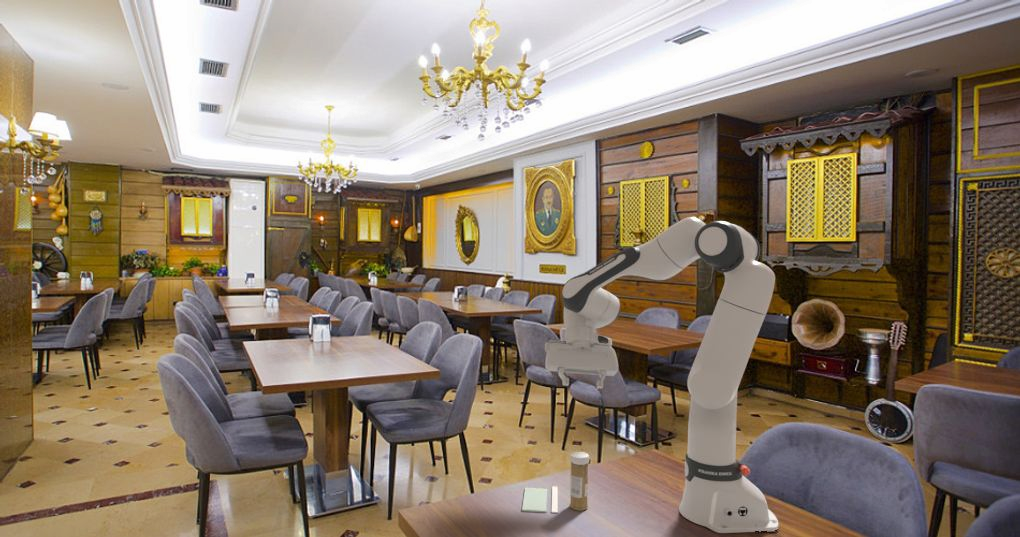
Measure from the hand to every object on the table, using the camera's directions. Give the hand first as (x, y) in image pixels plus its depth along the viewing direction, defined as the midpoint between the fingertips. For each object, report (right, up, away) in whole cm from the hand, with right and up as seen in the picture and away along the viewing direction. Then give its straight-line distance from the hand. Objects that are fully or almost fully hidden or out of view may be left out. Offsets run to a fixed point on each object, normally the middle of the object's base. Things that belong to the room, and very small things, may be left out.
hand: (583, 386), depth 150 cm
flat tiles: (-12, -28, -7) cm, 31 cm away
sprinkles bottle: (-3, -28, -11) cm, 30 cm away
